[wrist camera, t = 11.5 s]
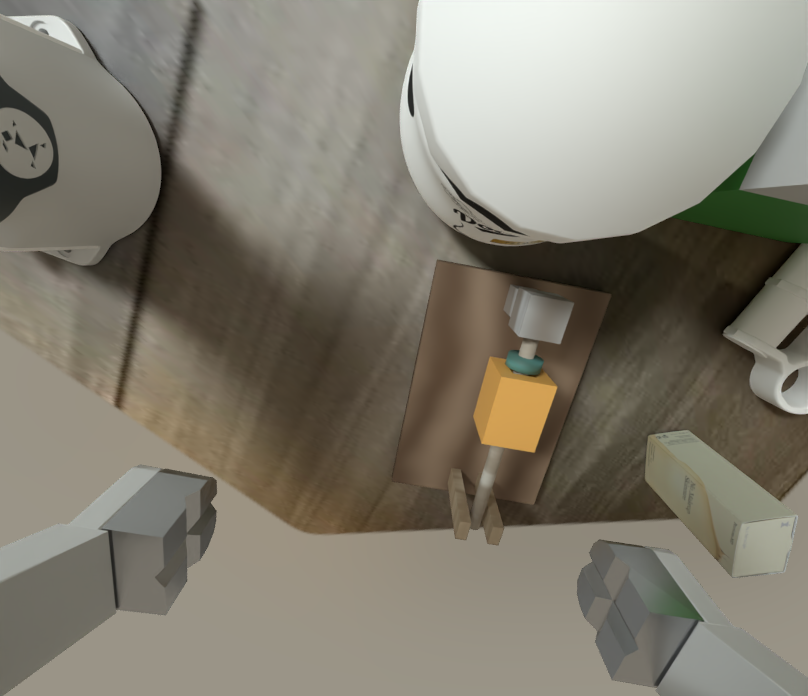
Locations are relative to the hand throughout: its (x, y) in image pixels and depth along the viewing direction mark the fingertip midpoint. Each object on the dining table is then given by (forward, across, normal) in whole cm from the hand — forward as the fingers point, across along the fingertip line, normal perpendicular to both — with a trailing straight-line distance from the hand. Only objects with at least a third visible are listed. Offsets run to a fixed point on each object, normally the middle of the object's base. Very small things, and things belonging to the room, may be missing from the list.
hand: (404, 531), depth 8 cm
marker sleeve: (+24, -10, +7) cm, 27 cm away
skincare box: (+29, -31, +13) cm, 45 cm away
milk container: (+29, -5, -14) cm, 33 cm away
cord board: (+29, -10, +9) cm, 32 cm away
